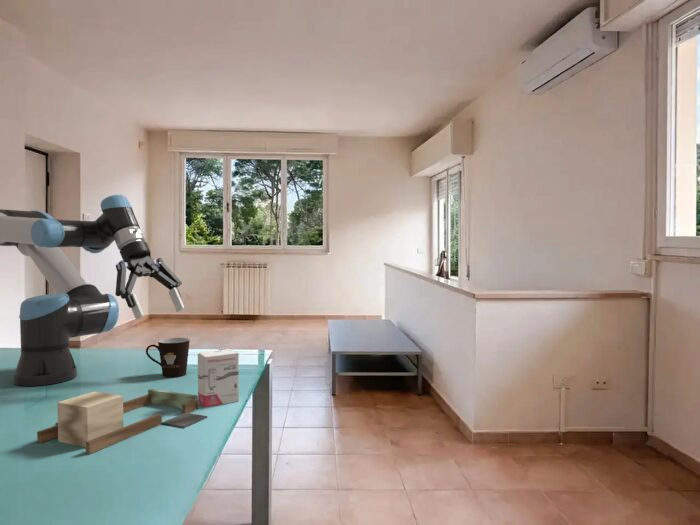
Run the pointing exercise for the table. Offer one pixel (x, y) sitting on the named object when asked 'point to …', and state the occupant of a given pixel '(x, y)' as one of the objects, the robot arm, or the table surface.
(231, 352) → the ink box
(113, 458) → the table surface
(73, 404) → the beech block
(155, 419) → the channel
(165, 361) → the coffee mug
